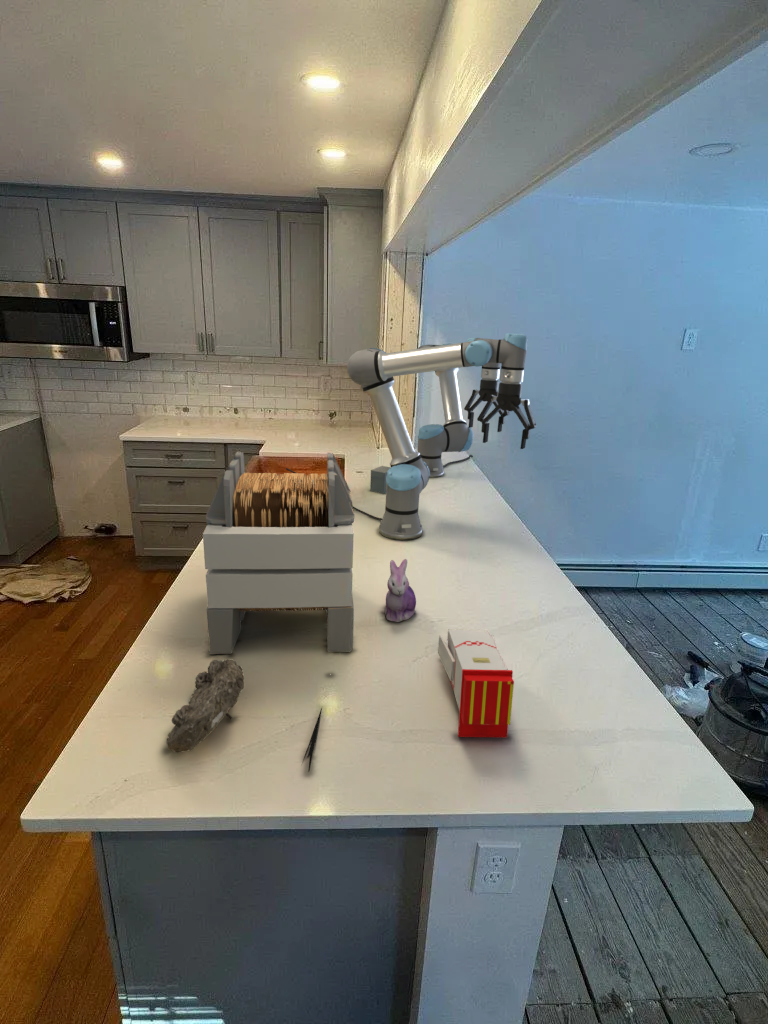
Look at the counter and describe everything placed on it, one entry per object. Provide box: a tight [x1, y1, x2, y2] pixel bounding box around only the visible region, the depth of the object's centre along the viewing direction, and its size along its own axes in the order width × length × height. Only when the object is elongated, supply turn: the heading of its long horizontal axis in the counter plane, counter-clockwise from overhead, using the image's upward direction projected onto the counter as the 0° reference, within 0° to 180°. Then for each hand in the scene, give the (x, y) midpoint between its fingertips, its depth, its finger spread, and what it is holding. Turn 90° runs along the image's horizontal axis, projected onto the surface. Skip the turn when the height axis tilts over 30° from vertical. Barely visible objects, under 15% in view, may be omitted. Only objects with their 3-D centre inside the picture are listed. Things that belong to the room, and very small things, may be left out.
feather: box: [301, 673, 332, 771], centre depth 108 cm, size 2×28×2 cm
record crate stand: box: [202, 451, 355, 655], centre depth 137 cm, size 34×33×41 cm
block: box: [369, 465, 391, 495], centre depth 246 cm, size 7×9×9 cm
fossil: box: [166, 658, 245, 754], centre depth 106 cm, size 22×10×15 cm
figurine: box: [384, 558, 417, 623], centre depth 145 cm, size 9×10×15 cm
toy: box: [437, 628, 515, 738], centre depth 117 cm, size 12×13×30 cm
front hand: (503, 445), depth 195 cm, fingers open, 13 cm apart
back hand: (484, 429), depth 245 cm, fingers open, 13 cm apart
